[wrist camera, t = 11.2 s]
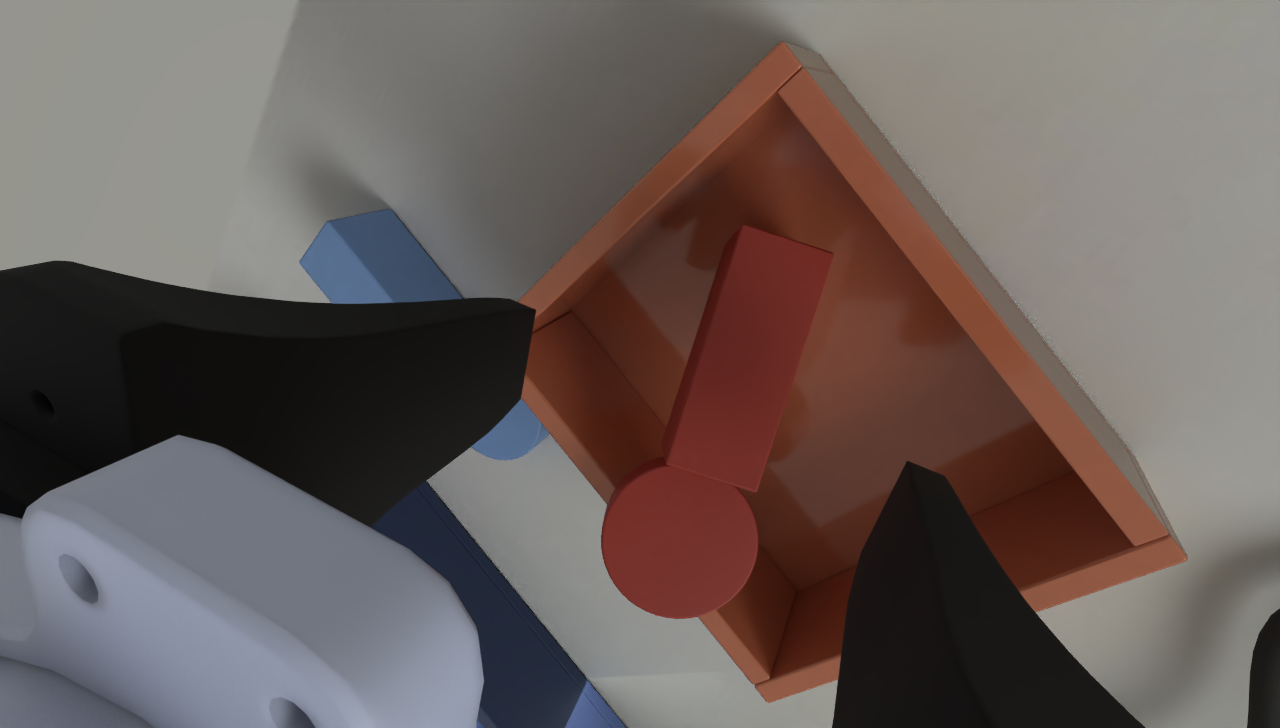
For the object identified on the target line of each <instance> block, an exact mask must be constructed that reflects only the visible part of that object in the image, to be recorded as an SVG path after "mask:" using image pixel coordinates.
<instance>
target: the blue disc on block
mask: <svg viewBox="0 0 1280 728" xmlns="http://www.w3.org/2000/svg"><path fill="white" fill-rule="evenodd" d="M300 265H301V266H302V267H303V268H304V269H305V271H306V272H307V273H308V274H309V276H310V277H311V278H312V279H313V281H314V282H315V283H316V284H317V285H318V287H319V288H320V289H321V290H322V292H323V293H324V294H325V295H326V297H327V298H328V299H329V300H330V301H331V303H334V304H368V303H396V302H420V301H435V300H451V299H463V298H462V297H461V295H460V294H459V293H458V292H457V290H456V289H455V288H454V287H453V285H452V284H451V283H450V282H449V281H448V279H447V278H446V277H445V276H444V274H443V273H442V272H441V271H440V269H439V268H438V267H437V266H436V264H435V263H434V262H433V261H432V259H431V258H430V257H429V256H428V255H427V253H426V252H425V251H424V250H423V248H422V247H421V246H420V245H419V243H418V242H417V241H416V240H415V238H414V237H413V236H412V235H411V233H410V232H409V231H408V230H407V228H406V227H405V226H404V225H403V224H402V222H401V221H400V220H399V219H398V217H397V216H396V215H395V214H394V212H393V211H392V210H391V209H386V210H381V211H376V212H370V213H365V214H360V215H355V216H350V217H345V218H340V219H335V220H330V221H327V222H326V223H325V225H324V226H323V228H322V229H321V230H320V232H319V233H318V235H317V236H316V238H315V239H314V241H313V242H312V244H311V245H310V247H309V248H308V250H307V251H306V253H305V254H304V255H303V257H302V258H301V260H300ZM549 434H550V433H549V432H548V431H547V429H546V428H545V427H544V426H543V424H542V423H541V422H540V421H539V419H538V418H537V417H536V416H535V415H534V413H533V412H532V411H531V410H530V408H529V407H528V406H527V405H526V403H525V402H524V401H523V400H522V398H521V400H520V401H519V402H518V403H517V404H516V405H515V406H514V407H513V408H512V409H511V411H510V412H509V413H508V414H507V415H506V416H505V417H504V418H503V419H502V420H501V421H500V422H499V423H498V424H497V425H496V426H495V427H494V428H493V429H492V430H491V431H490V432H489V433H488V434H486V435H485V436H484V437H483V438H481V439H480V440H479V441H477V442H476V443H475V444H474V445H472V446H471V447H472V448H473V449H475V450H476V451H478V452H479V453H481V454H483V455H485V456H487V457H490V458H493V459H498V460H512V459H517V458H519V457H522V456H524V455H525V454H527V453H528V452H529V451H530V450H532V449H533V448H534V447H535V446H536V445H538V444H539V443H540V442H541V441H542V440H543V439H545V438H546V437H547V436H548V435H549Z"/></svg>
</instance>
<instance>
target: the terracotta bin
mask: <svg viewBox="0 0 1280 728" xmlns="http://www.w3.org/2000/svg"><path fill="white" fill-rule="evenodd" d="M742 224H746V225H749V226H752V227H756V228H759V229H762V230H765V231H768V232H771V233H774V234H777V235H780V236H784V237H787V238H790V239H793V240H796V241H799V242H802V243H805V244H808V245H811V246H815V247H818V248H821V249H824V250H827V251H830V252H832V253H834V257H833V260H832V263H831V266H830V269H829V272H828V275H827V278H826V281H825V284H824V287H823V291H822V294H821V297H820V300H819V303H818V306H817V309H816V312H815V315H814V318H813V321H812V324H811V327H810V331H809V334H808V337H807V340H806V343H805V346H804V349H803V352H802V355H801V358H800V361H799V364H798V367H797V371H796V374H795V377H794V380H793V383H792V386H791V389H790V392H789V395H788V398H787V401H786V404H785V407H784V411H783V414H782V417H781V420H780V423H779V426H778V429H777V432H776V435H775V438H774V441H773V444H772V447H771V451H770V454H769V457H768V460H767V463H766V466H765V469H764V472H763V475H762V478H761V481H760V484H759V487H758V490H757V492H752V491H749V490H746V489H742V488H739V487H738V488H739V489H740V490H741V492H742V493H743V495H744V496H745V498H746V499H747V501H748V503H749V504H750V506H751V509H752V511H753V513H754V516H755V520H756V523H757V529H758V552H757V557H756V561H755V565H754V567H753V570H752V572H751V575H750V576H749V578H748V580H747V582H746V583H745V585H744V586H743V587H742V589H741V590H740V591H739V592H738V593H737V594H736V595H735V596H734V597H733V598H732V599H731V600H730V601H729V602H727V603H726V604H725V605H723V606H722V607H720V608H718V609H717V610H715V611H712V612H710V613H708V614H705V615H701V616H698V618H699V619H700V620H701V621H702V622H703V624H704V625H705V626H706V627H707V629H708V630H709V631H710V632H711V634H712V635H713V636H714V637H715V639H716V640H717V641H718V642H719V644H720V645H721V646H722V647H723V648H724V650H725V651H726V652H727V653H728V655H729V656H730V657H731V658H732V660H733V661H734V662H735V663H736V665H737V666H738V667H739V668H740V670H741V671H742V672H743V673H744V674H745V676H746V677H747V678H748V679H749V681H750V682H751V683H752V684H755V688H756V689H757V691H758V692H759V693H760V694H761V696H762V697H763V698H764V699H765V700H766V702H768V703H770V702H773V701H776V700H779V699H782V698H785V697H788V696H791V695H794V694H797V693H800V692H803V691H806V690H809V689H812V688H815V687H817V686H820V685H823V684H826V683H829V682H832V681H835V680H838V677H839V669H840V660H841V651H842V643H843V635H844V627H845V618H846V611H847V603H848V598H849V594H850V590H851V586H852V583H853V579H854V575H855V571H856V568H857V564H858V561H859V557H860V553H861V551H862V549H863V547H864V545H865V543H866V541H867V539H868V537H869V535H870V533H871V531H872V529H873V527H874V525H875V523H876V521H877V519H878V517H879V515H880V513H881V511H882V509H883V507H884V505H885V503H886V501H887V499H888V497H889V495H890V493H891V491H892V489H893V488H894V486H895V484H896V482H897V480H898V478H899V476H900V474H901V472H902V470H903V468H904V466H905V464H906V462H907V461H910V462H912V463H914V464H917V465H919V466H922V467H924V468H927V469H929V470H932V471H934V472H937V473H939V474H942V475H944V476H945V477H946V478H947V480H948V481H949V483H950V484H951V486H952V488H953V489H954V491H955V493H956V494H957V496H958V498H959V499H960V501H961V503H962V505H963V506H964V508H965V510H966V511H967V513H968V515H969V516H970V518H971V520H972V522H973V523H974V525H975V526H976V528H977V530H978V531H979V533H980V535H981V536H982V538H983V539H984V541H985V543H986V544H987V546H988V547H989V549H990V550H991V552H992V553H993V555H994V556H995V558H996V559H997V561H998V562H999V564H1000V565H1001V567H1002V568H1003V570H1004V571H1005V573H1006V574H1007V575H1008V577H1009V578H1010V579H1011V581H1012V582H1013V584H1014V585H1015V586H1016V588H1017V589H1018V590H1019V592H1020V593H1021V595H1022V596H1023V597H1024V599H1025V600H1026V601H1027V603H1028V604H1029V605H1030V606H1031V608H1032V609H1033V610H1034V611H1035V612H1038V611H1041V610H1044V609H1047V608H1050V607H1053V606H1056V605H1058V604H1061V603H1064V602H1067V601H1070V600H1073V599H1076V598H1079V597H1082V596H1085V595H1088V594H1091V593H1094V592H1097V591H1100V590H1103V589H1106V588H1108V587H1111V586H1114V585H1117V584H1120V583H1123V582H1126V581H1129V580H1132V579H1135V578H1138V577H1141V576H1144V575H1147V574H1150V573H1153V572H1155V571H1158V570H1161V569H1164V568H1167V567H1170V566H1173V565H1176V564H1179V563H1182V562H1185V561H1186V560H1188V557H1187V554H1186V552H1185V550H1184V549H1183V547H1182V545H1181V543H1180V541H1179V539H1178V537H1177V535H1176V533H1175V532H1174V530H1173V528H1172V526H1171V524H1170V522H1169V520H1168V518H1167V516H1166V514H1165V513H1164V511H1163V509H1162V507H1161V505H1160V503H1159V501H1158V499H1157V497H1156V495H1155V494H1154V492H1153V490H1152V488H1151V486H1150V484H1149V482H1148V480H1147V478H1146V477H1145V475H1144V473H1143V471H1142V469H1141V467H1140V465H1139V463H1138V461H1137V459H1136V457H1135V456H1134V455H1133V453H1132V452H1131V451H1130V450H1129V448H1128V447H1127V446H1126V444H1125V443H1124V442H1123V441H1122V439H1121V438H1120V437H1119V436H1118V434H1117V433H1116V432H1115V430H1114V429H1113V428H1112V427H1111V425H1110V424H1109V423H1108V421H1107V420H1106V419H1105V418H1104V416H1103V415H1102V414H1101V413H1100V411H1099V410H1098V409H1097V407H1096V406H1095V405H1094V404H1093V402H1092V401H1091V400H1090V398H1089V397H1088V396H1087V395H1086V393H1085V392H1084V391H1083V390H1082V388H1081V387H1080V386H1079V384H1078V383H1077V382H1076V381H1075V379H1074V378H1073V377H1072V375H1071V374H1070V373H1069V372H1068V370H1067V369H1066V368H1065V366H1064V365H1063V364H1062V363H1061V361H1060V360H1059V359H1058V358H1057V356H1056V355H1055V354H1054V352H1053V351H1052V350H1051V349H1050V347H1049V346H1048V345H1047V343H1046V342H1045V341H1044V340H1043V338H1042V337H1041V336H1040V335H1039V333H1038V332H1037V331H1036V329H1035V328H1034V327H1033V326H1032V324H1031V323H1030V322H1029V320H1028V319H1027V318H1026V317H1025V315H1024V314H1023V313H1022V312H1021V310H1020V309H1019V308H1018V306H1017V305H1016V304H1015V303H1014V301H1013V300H1012V299H1011V297H1010V296H1009V295H1008V294H1007V292H1006V291H1005V290H1004V289H1003V287H1002V286H1001V285H1000V283H999V282H998V281H997V280H996V278H995V277H994V276H993V274H992V273H991V272H990V271H989V269H988V268H987V267H986V266H985V264H984V263H983V262H982V260H981V259H980V258H979V257H978V255H977V254H976V253H975V251H974V250H973V249H972V248H971V246H970V245H969V244H968V243H967V241H966V240H965V239H964V237H963V236H962V235H961V234H960V232H959V231H958V230H957V228H956V227H955V226H954V225H953V223H952V222H951V221H950V220H949V218H948V217H947V216H946V214H945V213H944V212H943V211H942V209H941V208H940V207H939V205H938V204H937V203H936V202H935V200H934V199H933V198H932V197H931V195H930V194H929V193H928V191H927V190H926V189H925V188H924V186H923V185H922V184H921V182H920V181H919V180H918V179H917V177H916V176H915V175H914V174H913V172H912V171H911V170H910V168H909V167H908V166H907V165H906V163H905V162H904V161H903V159H902V158H901V157H900V156H899V154H898V153H897V152H896V151H895V149H894V148H893V147H892V145H891V144H890V143H889V142H888V140H887V139H886V138H885V136H884V135H883V134H882V133H881V131H880V130H879V129H878V128H877V126H876V125H875V124H874V122H873V121H872V120H871V119H870V117H869V116H868V115H867V113H866V112H865V111H864V110H863V108H862V107H861V106H860V105H859V103H858V102H857V101H856V99H855V98H854V97H853V96H852V94H851V93H850V92H849V90H848V89H847V88H846V87H845V85H844V84H843V83H842V82H841V80H840V79H839V78H838V76H837V75H836V74H835V73H834V71H833V70H832V69H831V67H830V66H829V65H828V64H827V62H826V61H825V60H824V59H823V57H822V56H821V55H820V54H818V53H815V52H812V51H809V50H806V49H804V48H801V47H798V46H795V45H792V44H789V43H786V42H784V41H781V42H779V43H778V44H777V45H776V46H775V47H774V48H773V49H772V50H771V51H770V52H769V53H768V54H767V55H766V56H765V57H764V58H763V59H762V60H761V61H760V62H759V63H758V64H757V65H756V66H755V67H754V68H753V69H752V70H751V71H750V72H749V73H748V74H747V75H746V76H745V77H744V78H743V79H742V80H741V81H740V82H739V83H738V84H737V85H736V86H735V87H734V88H733V89H732V90H731V91H730V92H729V93H727V94H726V95H725V96H724V97H723V98H722V99H721V100H720V101H719V102H718V103H717V104H716V105H715V106H714V107H713V108H712V109H711V110H710V111H709V112H708V113H707V114H706V115H705V116H704V117H703V118H702V119H701V120H700V121H699V122H698V123H697V124H696V125H695V126H694V127H693V128H692V129H691V130H690V131H689V132H688V133H687V134H686V135H685V136H684V137H683V138H682V139H681V140H680V141H679V142H678V143H677V144H676V145H675V146H674V147H673V148H672V149H671V150H670V151H669V152H668V153H667V154H666V155H665V156H664V157H663V158H662V159H661V160H660V161H659V162H658V163H657V164H656V165H655V166H654V167H653V168H652V169H651V170H650V171H649V172H648V173H647V174H646V175H645V176H644V177H643V178H642V179H641V180H640V181H639V182H638V183H637V184H635V185H634V186H633V187H632V188H631V189H630V190H629V191H628V192H627V193H626V194H625V195H624V196H623V197H622V198H621V199H620V200H619V201H618V202H617V203H616V204H615V205H614V206H613V207H612V208H611V209H610V210H609V211H608V212H607V213H606V214H605V215H604V216H603V217H602V218H601V219H600V220H599V221H598V222H597V223H596V224H595V225H594V226H593V227H592V228H591V229H590V230H589V231H588V232H587V233H586V234H585V235H584V236H583V237H582V238H581V239H580V240H579V241H578V242H577V243H576V244H575V245H574V246H573V247H572V248H571V249H570V250H569V251H568V252H567V253H566V254H565V255H564V256H563V257H562V258H561V259H560V260H559V261H558V262H557V263H556V264H555V265H554V266H553V267H552V268H551V269H550V270H549V271H548V272H547V273H546V274H545V275H543V276H542V277H541V278H540V279H539V280H538V281H537V282H536V283H535V284H534V285H533V286H532V287H531V288H530V289H529V290H528V291H527V292H526V293H525V294H524V295H523V296H522V297H521V298H520V299H519V300H518V301H517V302H519V303H521V304H524V305H526V306H528V307H531V308H533V309H536V315H535V320H534V326H533V332H532V338H531V344H530V349H529V355H528V361H527V367H526V372H525V378H524V384H523V390H522V395H521V398H522V400H523V401H524V402H525V403H526V405H527V406H528V407H529V408H530V410H531V411H532V412H533V413H534V415H535V416H536V417H537V418H538V419H539V421H540V422H541V423H542V424H543V426H544V427H545V428H546V429H547V431H548V432H549V433H550V434H551V436H552V437H553V438H554V439H555V441H556V442H557V443H558V444H559V445H560V447H561V448H562V449H563V450H564V452H565V453H566V454H567V455H568V457H569V458H570V459H571V460H572V462H573V463H574V464H575V465H576V467H577V468H578V469H579V470H580V471H581V473H582V474H583V475H584V476H585V478H586V479H587V480H588V481H589V483H590V484H591V485H592V486H593V488H594V489H595V490H596V491H597V492H598V494H599V495H600V496H601V497H602V499H603V500H604V501H605V502H606V504H607V505H608V502H609V500H610V497H611V495H612V493H613V492H614V490H615V488H616V487H617V485H618V484H619V483H620V481H621V480H622V479H623V478H624V477H625V476H626V475H627V474H628V473H629V472H631V471H632V470H633V469H635V468H636V467H638V466H639V465H641V464H643V463H645V462H647V461H649V460H652V459H655V458H658V457H662V456H664V454H663V450H662V446H661V443H662V440H663V437H664V434H665V430H666V427H667V424H668V421H669V418H670V415H671V412H672V409H673V405H674V402H675V399H676V396H677V393H678V390H679V387H680V384H681V381H682V377H683V374H684V371H685V368H686V365H687V362H688V359H689V356H690V352H691V349H692V346H693V343H694V340H695V337H696V334H697V331H698V327H699V324H700V321H701V318H702V315H703V312H704V309H705V306H706V303H707V299H708V296H709V293H710V290H711V287H712V284H713V281H714V278H715V274H716V271H717V268H718V265H719V262H720V259H721V256H722V253H723V250H724V246H725V244H726V243H727V242H728V240H729V239H730V238H731V237H732V236H733V235H734V234H735V232H736V231H737V230H738V229H739V228H740V227H741V225H742Z"/></svg>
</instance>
